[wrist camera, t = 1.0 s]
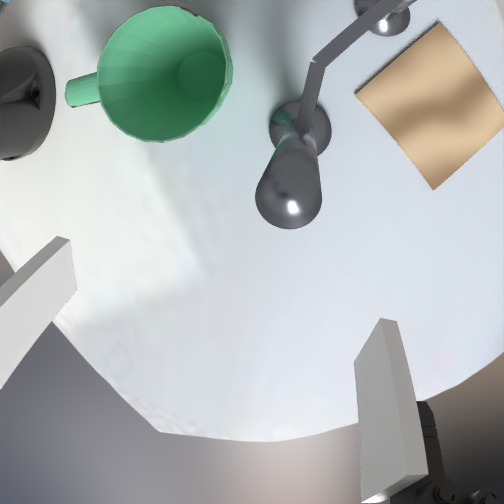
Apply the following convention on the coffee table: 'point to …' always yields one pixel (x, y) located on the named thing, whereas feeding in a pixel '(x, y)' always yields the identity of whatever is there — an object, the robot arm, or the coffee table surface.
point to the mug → (159, 75)
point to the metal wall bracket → (314, 124)
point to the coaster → (434, 105)
